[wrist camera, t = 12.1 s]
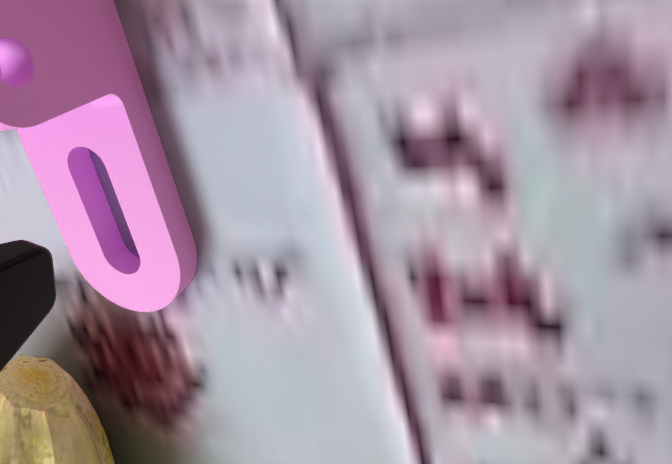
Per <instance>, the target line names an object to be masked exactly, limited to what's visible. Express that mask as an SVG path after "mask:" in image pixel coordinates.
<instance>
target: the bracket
mask: <svg viewBox="0 0 672 464" xmlns="http://www.w3.org/2000/svg"><path fill="white" fill-rule="evenodd" d="M11 129H16V130H17V132H18V134H19V137H20V139H21V141H22V144H23V146H24V148H25V151H26V153H27V155H28V158H29V160H30V162H31V165H32V167H33V169H34V172H35V174H36V176H37V179H38V181H39V183H40V186H41V188H42V190H43V192H44V195H45V197H46V199H47V202H48V204H49V206H50V209H51V211H52V213H53V216H54V218H55V220H56V223H57V225H58V227H59V230H60V232H61V234H62V237H63V239H64V241H65V244H66V246H67V248H68V251H69V253H70V255H71V257H72V259H73V261H74V263H75V265H76V267H77V268H78V270H79V271H80V273H81V274H82V275H83V277H84V278H85V279H86V280H87V281H88V283H89V284H90V285H91V286H92V287H93V288H94V289H95V290H96V291H98V292H99V293H100V294H101V295H103V296H104V297H105V298H107V299H108V300H110V301H111V302H113V303H115V304H117V305H119V306H121V307H123V308H126V309H129V310H133V311H138V312H152V311H157V310H160V309H162V308H164V307H166V306H167V305H168V304H170V303H171V302H172V301H173V300H174V299H175V298H176V297H177V296H178V295H179V294H180V293H181V292H182V291H183V290H184V289H185V288H186V287H187V286H188V285H189V284H190V283H191V281H192V280H193V277H194V275H195V272H196V268H197V250H196V245H195V241H194V238H193V235H192V232H191V229H190V226H189V223H188V220H187V217H186V214H185V211H184V208H183V205H182V202H181V199H180V196H179V193H178V191H177V188H176V185H175V182H174V179H173V176H172V173H171V170H170V167H169V164H168V161H167V158H166V155H165V152H164V149H163V146H162V143H161V140H160V137H159V134H158V131H157V128H156V125H155V122H154V119H153V116H152V113H151V110H150V107H149V104H148V101H147V98H146V95H145V92H144V89H143V86H142V83H141V80H140V78H139V75H138V72H137V69H136V66H135V63H134V60H133V57H132V54H131V51H130V48H129V45H128V42H127V39H126V36H125V33H124V30H123V27H122V24H121V21H120V18H119V15H118V12H117V9H116V6H115V3H114V0H0V131H2V130H11ZM89 149H90V150H92V151H93V152H95V153H96V154H97V155H98V156H99V157H100V158H101V160H102V161H103V163H104V165H105V167H106V169H107V172H108V175H109V177H110V180H111V182H112V185H113V188H114V190H115V193H116V196H117V198H118V201H119V204H120V206H121V209H122V211H123V214H124V217H125V219H126V222H127V225H128V227H129V230H130V233H131V235H132V238H133V240H134V243H135V246H136V248H137V251H138V254H139V256H140V258H139V257H137V256H135V255H134V254H133V253H131V252H130V251H129V250H128V248H127V247H126V246H125V244H124V242H123V240H122V237H121V234H120V232H119V229H118V227H117V224H116V222H115V219H114V216H113V214H112V211H111V209H110V206H109V204H108V201H107V198H106V196H105V193H104V191H103V188H102V185H101V183H100V180H99V178H98V175H97V173H96V170H95V167H94V165H93V162H92V160H91V157H90V151H89Z"/></svg>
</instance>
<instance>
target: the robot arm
mask: <svg viewBox="0 0 672 464" xmlns="http://www.w3.org/2000/svg"><path fill="white" fill-rule="evenodd" d="M55 300H56V285H55V276H54V268H53V259H52V255H51V253H50V252H49V250H48V249H46V248H45V247H42V246H40V245H37V244H34V243H32V242H29V241H25V240H17V241H12V242H8V243H3V244H0V372H1V371H2V370H3V368H4V367H5V366H6V365H7V363H8V362H9V361H10V360H11V359H12V357H13V356H14V355H15V354H16V352H17V351H18V350H19V349H20V348H21V346H22V345H23V344H24V343H25V341H26V340H27V339H28V338H29V336H30V335H31V334H32V333H33V332H34V330H35V329H36V328H37V327H38V325H39V324H40V323H41V322H42V320H43V319H44V318H45V317H46V316H47V314H48V313H49V312H50V310H51V309H52V307H53V305H54V303H55Z"/></svg>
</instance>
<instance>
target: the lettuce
mask: <svg viewBox="0 0 672 464" xmlns="http://www.w3.org/2000/svg"><path fill="white" fill-rule="evenodd" d="M0 464H115V463H114V459H113V456H112V452H111V449H110V446H109V442H108V439H107V436H106V434H105V431H104V429H103V427H102V425H101V422H100V420H99V418H98V415H97V413H96V412H95V410H94V408H93V406H92V405H91V403H90V401H89V399H88V398H87V396H86V395H85V393H84V392H83V391H82V389H81V388H80V386H79V385H78V384H77V382H76V381H75V380H74V378H73V377H72V376H71V375H69V374H68V373H67V372H66V371H64V370H63V369H62V368H61V367H60V366H59V365H58V364H56V363H55V362H54V361H53V360H52V359H48V358H42V357H36V356H29V355H20V356H18V357H16V358H14V359H12V360H10V361H9V362H8V363H7V365H6V366H5V367H4V368H3V370H2V371H1V372H0Z"/></svg>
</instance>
